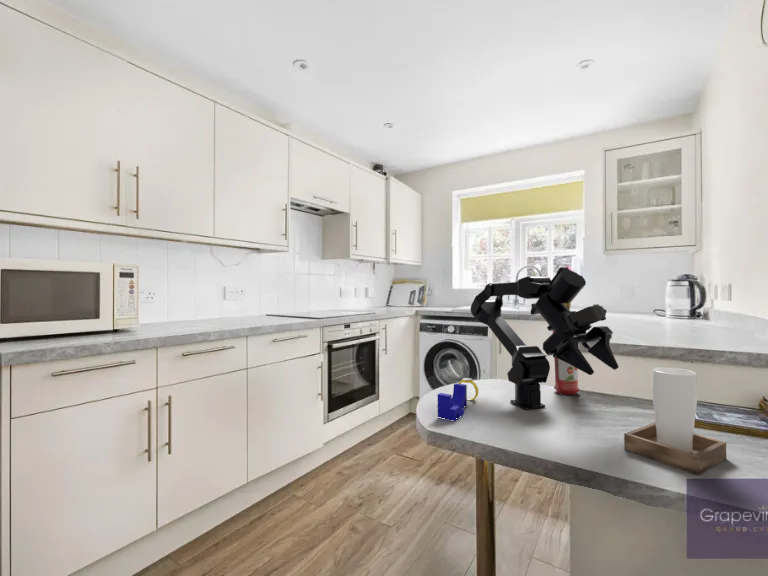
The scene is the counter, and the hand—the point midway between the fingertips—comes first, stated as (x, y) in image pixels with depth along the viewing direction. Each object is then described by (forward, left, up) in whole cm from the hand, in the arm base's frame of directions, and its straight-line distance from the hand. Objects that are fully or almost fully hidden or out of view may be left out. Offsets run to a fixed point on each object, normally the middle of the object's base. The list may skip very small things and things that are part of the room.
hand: (604, 371), depth 78 cm
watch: (-30, -16, -14) cm, 37 cm away
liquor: (-27, +15, -14) cm, 34 cm away
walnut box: (+11, +5, -14) cm, 18 cm away
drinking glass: (+11, +5, -13) cm, 18 cm away
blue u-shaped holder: (-22, -24, -14) cm, 36 cm away
